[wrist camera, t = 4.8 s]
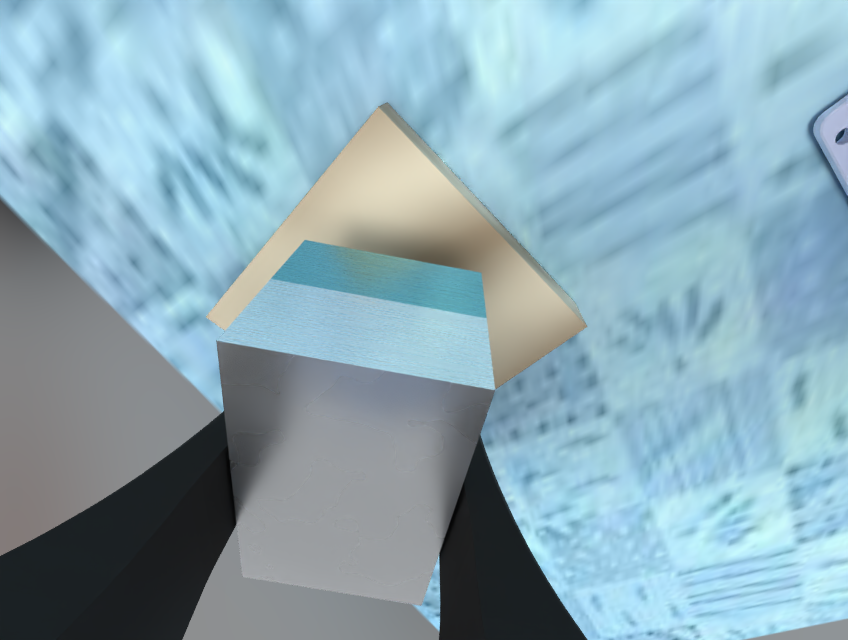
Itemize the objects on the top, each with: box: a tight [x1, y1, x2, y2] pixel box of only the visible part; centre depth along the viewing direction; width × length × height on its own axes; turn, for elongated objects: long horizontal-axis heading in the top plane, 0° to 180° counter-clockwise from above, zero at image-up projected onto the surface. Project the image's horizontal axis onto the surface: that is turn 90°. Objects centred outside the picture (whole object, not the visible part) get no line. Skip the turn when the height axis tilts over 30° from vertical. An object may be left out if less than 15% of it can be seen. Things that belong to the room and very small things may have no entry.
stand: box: [206, 103, 587, 389], centre depth 18 cm, size 11×11×2 cm
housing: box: [217, 240, 495, 606], centre depth 12 cm, size 8×5×5 cm, turn 170°
